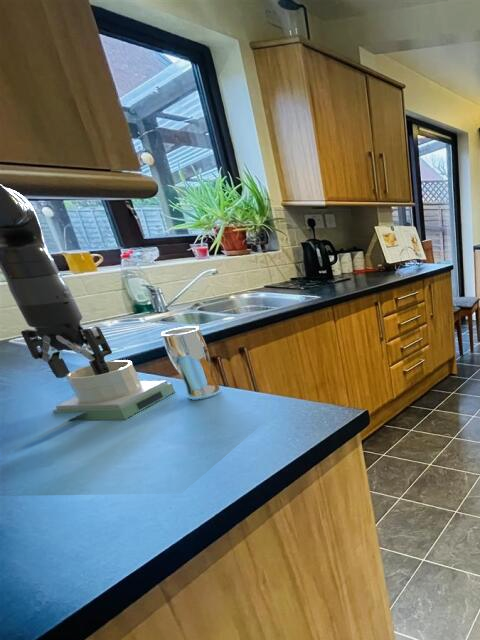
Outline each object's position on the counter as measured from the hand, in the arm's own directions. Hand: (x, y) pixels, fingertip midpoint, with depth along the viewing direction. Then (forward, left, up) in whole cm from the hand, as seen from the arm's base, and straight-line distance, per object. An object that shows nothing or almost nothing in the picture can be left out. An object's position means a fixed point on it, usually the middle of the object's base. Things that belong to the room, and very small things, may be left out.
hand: (83, 376), depth 84 cm
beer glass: (+20, +5, -7) cm, 22 cm away
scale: (+5, 0, -7) cm, 9 cm away
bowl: (+4, 0, -4) cm, 6 cm away
